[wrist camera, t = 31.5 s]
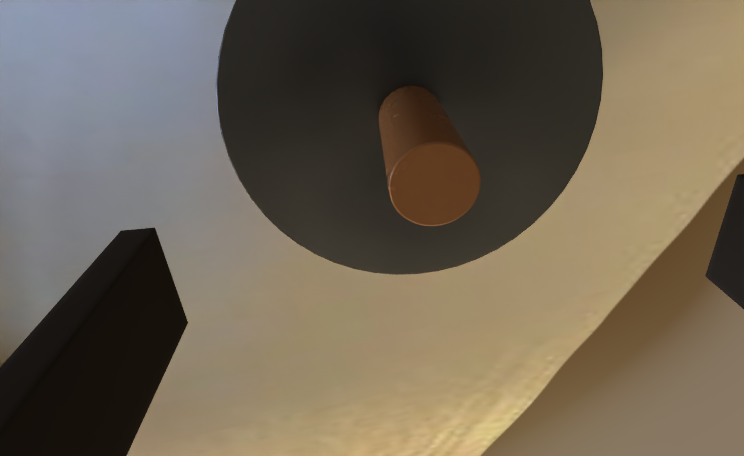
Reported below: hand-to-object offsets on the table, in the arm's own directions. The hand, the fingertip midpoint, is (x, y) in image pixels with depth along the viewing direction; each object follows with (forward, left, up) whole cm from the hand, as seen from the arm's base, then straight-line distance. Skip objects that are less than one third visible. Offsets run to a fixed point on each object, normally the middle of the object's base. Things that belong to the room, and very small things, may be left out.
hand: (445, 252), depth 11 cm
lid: (0, 0, -12) cm, 12 cm away
